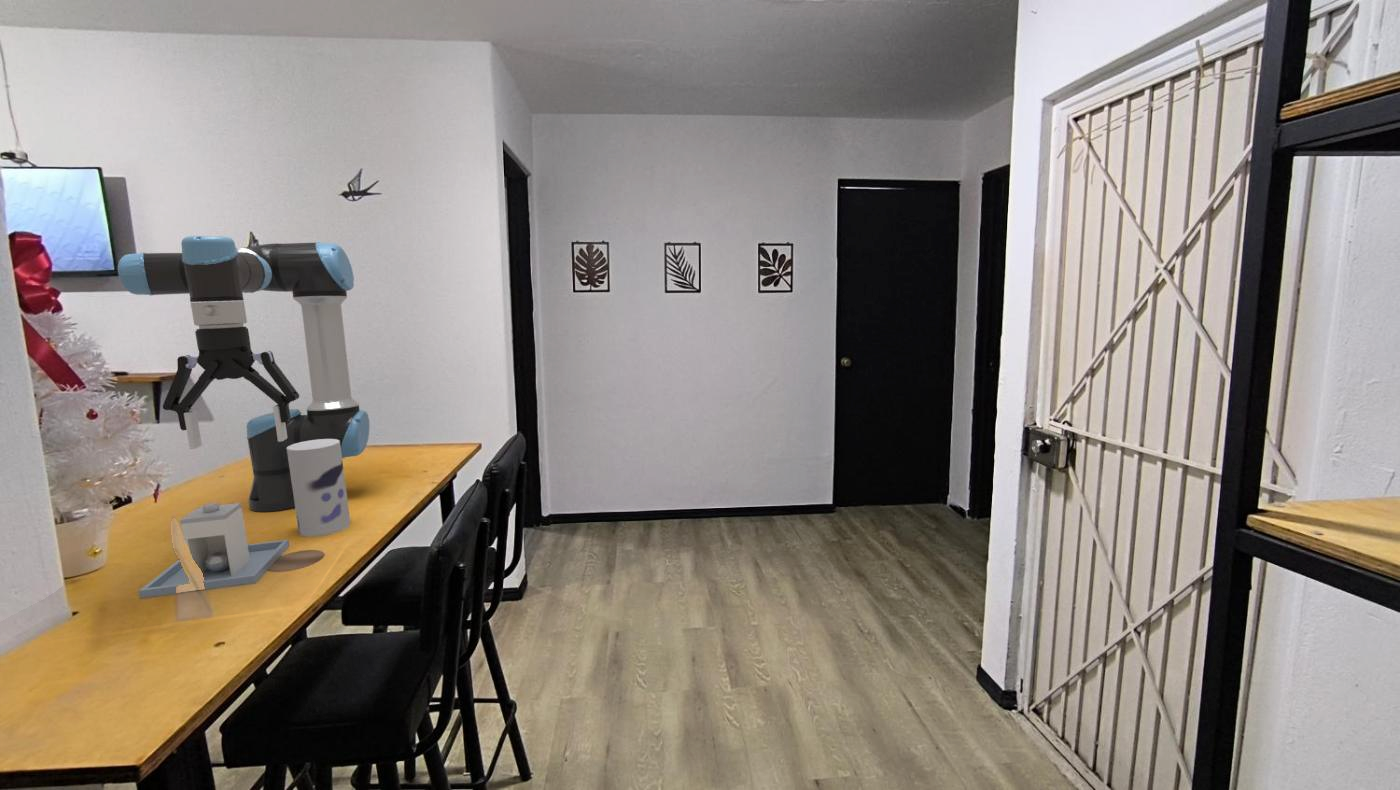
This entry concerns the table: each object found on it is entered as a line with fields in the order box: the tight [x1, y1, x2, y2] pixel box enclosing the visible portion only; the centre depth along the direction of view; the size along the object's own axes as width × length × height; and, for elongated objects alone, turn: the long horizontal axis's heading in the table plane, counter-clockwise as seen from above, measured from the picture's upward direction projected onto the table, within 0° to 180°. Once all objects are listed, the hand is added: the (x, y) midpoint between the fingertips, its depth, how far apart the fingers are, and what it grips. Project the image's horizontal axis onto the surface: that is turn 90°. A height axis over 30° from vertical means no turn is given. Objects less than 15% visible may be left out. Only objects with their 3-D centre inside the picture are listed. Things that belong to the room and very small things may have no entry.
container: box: [287, 439, 351, 538], centre depth 140 cm, size 10×10×20 cm
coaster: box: [267, 549, 325, 573], centre depth 124 cm, size 10×10×1 cm
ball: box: [205, 550, 229, 572], centre depth 120 cm, size 4×4×4 cm
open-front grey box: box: [179, 502, 250, 575], centre depth 120 cm, size 7×7×13 cm
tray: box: [138, 539, 290, 600], centre depth 121 cm, size 18×18×2 cm
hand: (240, 443), depth 115 cm, fingers open, 13 cm apart
